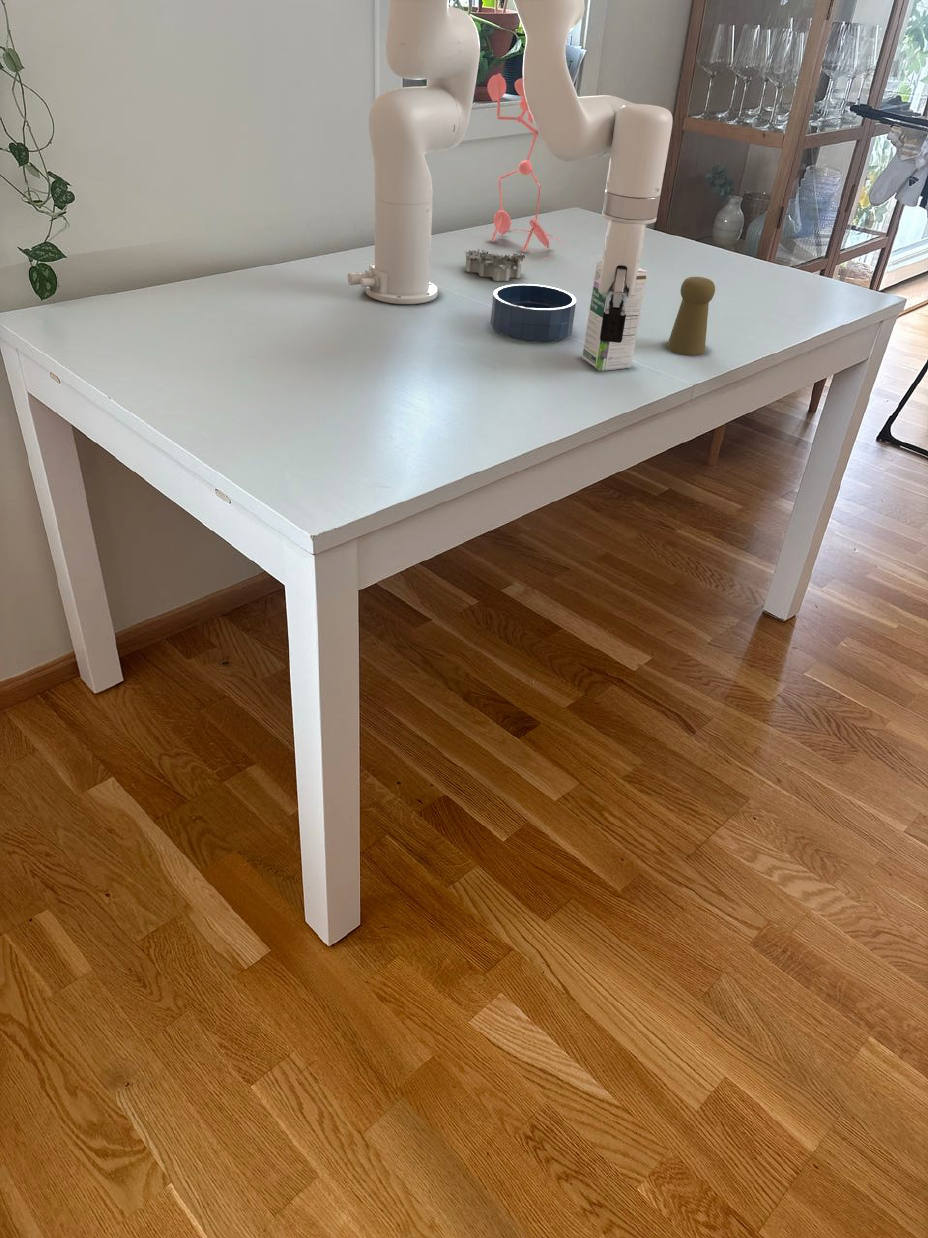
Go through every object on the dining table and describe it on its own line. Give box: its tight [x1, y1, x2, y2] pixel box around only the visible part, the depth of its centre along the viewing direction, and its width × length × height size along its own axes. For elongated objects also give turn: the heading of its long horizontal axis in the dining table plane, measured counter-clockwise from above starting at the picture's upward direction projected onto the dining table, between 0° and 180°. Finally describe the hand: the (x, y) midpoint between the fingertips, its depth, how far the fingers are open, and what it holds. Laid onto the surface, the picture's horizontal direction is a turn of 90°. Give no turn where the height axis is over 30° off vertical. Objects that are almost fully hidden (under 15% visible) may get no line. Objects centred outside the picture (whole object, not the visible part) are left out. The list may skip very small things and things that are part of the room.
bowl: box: [490, 283, 577, 343], centre depth 151 cm, size 13×13×6 cm
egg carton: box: [463, 248, 526, 282], centre depth 177 cm, size 11×8×4 cm
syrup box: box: [581, 260, 649, 372], centre depth 138 cm, size 6×6×14 cm
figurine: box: [486, 73, 565, 259], centre depth 188 cm, size 15×26×35 cm, turn 44°
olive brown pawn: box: [666, 276, 716, 356], centre depth 147 cm, size 6×6×11 cm
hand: (611, 330), depth 139 cm, fingers open, 8 cm apart
